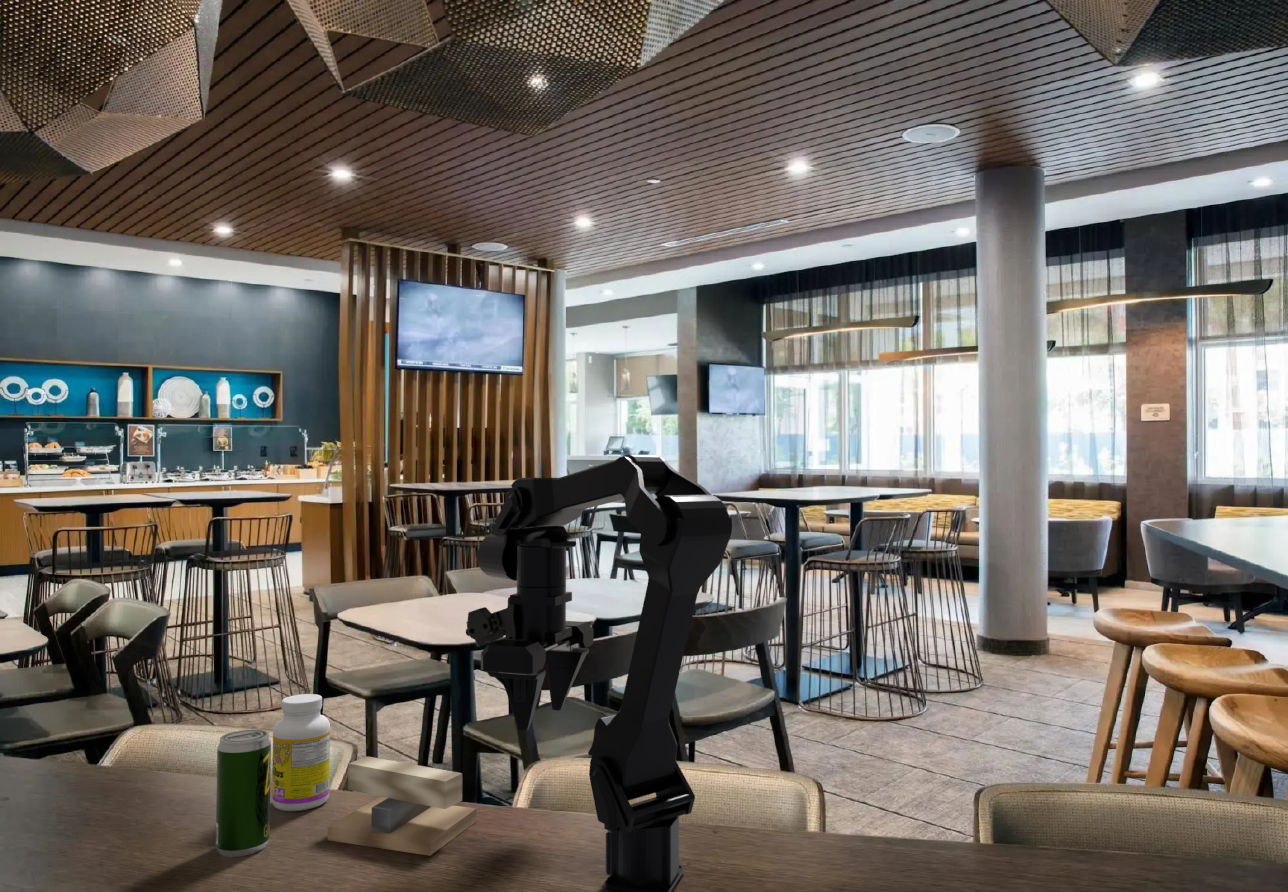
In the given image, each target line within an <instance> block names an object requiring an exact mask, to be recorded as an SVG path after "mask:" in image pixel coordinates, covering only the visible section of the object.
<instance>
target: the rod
mask: <svg viewBox="0 0 1288 892" xmlns="http://www.w3.org/2000/svg"><path fill="white" fill-rule="evenodd" d="M347 767H348V774H347V775H348V779H347V780H348V781H347V786H348V787H347V790H349V791H354V792H356V793H357V792H358V793H362V794H367V795H372V796H377V797H380V796H382V797H387V798H392V799H396V800H401V801H406V802H411V803H416V804H421V805H426V806H431V807H436V808H441V809H447V808H449V807H451V806H452V805H454V806H455V805H456V804H459V803H460V802H461V801H462V802H463V773H462V772H458V771H450V770H445V769H441V768H434V767H430V766H424V765H417V764H413V763H407V762H401V761H395V760H391V759H384V758H379V757H372V756H364V757H362V758H360V759H357V760H354V761H352V762H349V763H348V766H347Z"/></svg>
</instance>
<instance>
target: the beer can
mask: <svg viewBox="0 0 1288 892" xmlns="http://www.w3.org/2000/svg"><path fill="white" fill-rule="evenodd" d="M269 733H270V732H269V731H267V730H263V729H244V730H243V729H242V730H238V731H236V730H235V731H232V732H228V733H226V734H223V735H221V736H220V737H219V743H218V746H217V748H216V749H217V752H216V753H217V754H216V756H217V757H216V758H217V759H216V805H215V806H216V809H215V810H216V813H215V817H216V818H215V848H216V850H217V852H218V853H219V855H221V856H224V857H228V858H229V857H230V858H231V857H233V858H234V857H235V858H236V857H244V856H249V855H252V854H253V855H254V854H256V853H258V852H260V851H262V850H264V849H265V848H266V847H267V845H268V842H269V840H270V838H271V837H270V835H271V833H270V832H271V831H270V830H271V829H270V828H271V827H270V826H271V819H270V818H271V771H272V769H271V768H272V767H271V766H272V765H271V763H272V761H271V760H272V759H271V757H272V756H271V755H272V751H271V750H272V743H271V740H270V738H269V737H270V734H269Z"/></svg>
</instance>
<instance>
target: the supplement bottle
mask: <svg viewBox="0 0 1288 892" xmlns="http://www.w3.org/2000/svg"><path fill="white" fill-rule="evenodd" d="M322 707H323V697H322V696H321V695H320V694H315V693H305V694H304V693H303V694H302V693H301V694H295V695H290V696H287V697H284V698H283V699H282V700H281V711H282V714H283V718H281V719H279V720H278V721H277V722H276V723H274V724H275V725H274V726H273V729H272V765H271V766H272V767H271V768H272V769H271V771H272V772H271V773H272V774H271V776H272V778H271V787H272V788H271V803H272V806H273V807H274V808H276V809H277V810H280V811H285V812H300V811H301V812H302V811H305V810H306V811H307V810H310V809H314V808H317V807H319V806H321V805H324V804H325V802H326V801H328V799H329V797H330V770H331V769H330V764H331V763H330V762H331V761H330V760H331V759H330V756H331V755H330V754H331V753H330V751H331V750H330V748H331V746H330V745H331V744H330V743H331V724H330V720H329V719H328V718H327V717H326V716H325V715H322V714H321V709H322Z"/></svg>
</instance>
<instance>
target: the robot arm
mask: <svg viewBox="0 0 1288 892" xmlns="http://www.w3.org/2000/svg"><path fill="white" fill-rule="evenodd" d="M653 494H654V495H655V496H656V498H654V497H653V496H652V495H653ZM622 500H624V505H625V506H624V507H625V508H624V509H625V516H626V519H628V521H629V522H630V523H631V524H632V526H633V527H634V528H635V529H636V530H637V531H638V532H639V533H640V537H639V548H638V552H639V555H640V557H641V559H642V563H643V566H644V569H645V571H646V573H647V574H646V575H647V577H648V580H647V586H646V590H645V595H644V600H643V604H642V609H641V613H640V617H639V622H638V627H637V630H636V636H635V640H634V646H633V649H632V654H631V655H632V656H631V658H630V659H631V660H630V663H629V668H628V673H627V677H626V682H625V686H624V690H623V691H624V692H623V696H622V700H621V706H620V709H618V711H617V713H616V714H614V715H609V716H605V717H600V718H597V721H596V723H595V725H594V731H593V738H592V739H593V740H592V743H591V746H590V748H589V750H588V752H587V754H588V755H589V756H591V759H590V761H589V770H588V771H589V773H588V774H589V781H590V787H591V791H592V796H593V802H594V807H595V811H596V812H595V813H596V818H597V821H598V822H599V823H601V824H603V825H604V826H603V827H604V830H607V832H605V873H606V875H607V876H608V877H607V878H606V880H604V883H603V887H604V889H606V890H611V891H619V892H672V890H673V889H674V888H675V886H676V885H677V883H678V882H679V880H680V879H681V877H682V875H683V874H684V873H685V867H684V865H682V864H680V857H679V856H680V831H679V830H680V826H679V825H680V817H681V816H684V815H685V816H687V815H690V814H691V813H692V810H693V807H694V803H695V800H696V797H695V796H696V795H695V793H694V791H693V790H692V788H691V786H690V784H689V782H688V780H687V778H686V777H685V774H684V773H683V771H682V769H681V767H680V766H679V763H678V762H677V753H678V751H677V750H678V742H677V740H676V737H675V734H674V731H673V729H672V726H671V723H670V715H671V710H672V706H673V702H674V697H675V693H676V689H677V685H678V681H679V677H680V672H681V668H682V663H683V659H684V654H685V650H686V646H687V642H688V638H689V632H690V628H691V625H692V619H693V616H694V611H695V608H696V603H697V599H698V594H699V591H700V589H701V587H703V585H704V584H705V583H706V582H707V580H708V579H709V578H710V577H711V576H712V574H713V573H714V572H715V571H716V569H717V568H718V567H719V566H720V564H721V563H722V560H723V557H724V555H725V552H726V550H727V546H728V545H729V542H730V539H731V536H732V531H733V520H732V519H733V518H732V516H730V515H729V513H728V509H727V507H726V505H725V504H724V502H723V501H722V500H721V499H720V498H718V497H717V496H715V495H712V494H711V493H710V492H709V491H708V490H707V489H706V488H705V487H704V486H703V485H701V484H699V483H697V482H696V481H695V480H693V479H691V478H689V477H687V476H686V475H684V474H682V473H680V472H679V471H678V470H676V469H675V468H673V467H672V466H671V465H670V464H669V462H668V461H667V460H666V459H664V458H662V457H660V456H658V455H655V454H624V455H622V456H619V457H618V458H617V459H615V460H612V461H608V462H606V463H603V464H598V465H596V466H593V467H589V468H586V469H583V470H580V471H577V472H574V473H569V474H567V475H564V476H561V477H518V478H516V479H515V480H514V481H513V482H512V484H511V488H510V489H509V491H508V492H507V494H506V496H505V500H504V501H503V504H502V506H501V510H500V511H499V512H498V514H497V516H496V518H495V519H494V522H493V523H492V524H491V533H489V534H487V535H486V536H485V537H484V538H483V539H482V541H481V543H480V545H479V547H478V549H477V551H476V561H477V564H478V566H479V567H478V568H479V569H480V570H481V572H483V574H484V575H486V576H489V577H492V578H497V579H503V580H508V581H509V580H510V581H516V592H515V593H513V594H510V595H509V597H508V599H507V607H506V608H503V609H501V610H497V611H493V612H491V611H490V610H489V609H488V608H487V607H486V606H485V607H481V608H477V609H474V610H471V611H469V612H468V613H467V621H466V629H465V634H466V636H467V637H470V638H471V639H473V640H474V642H475V645H476V647H477V648H479V647H481V646H484V645H485V644H486V643H488V645H487V646H486V647H484V649H483V650H482V651H481V652H480V670H481V671H483V672H487V674H488V676H489V677H490V678H495V680H497V681H498V682H500V683H501V685H503V687H504V690H505V692H506V696H507V698H508V701H509V704H510V707H511V711H512V714H513V717H514V720H515V724H516V727H517V729H518V731H520V732H521V731H522V732H526V731H528V730H529V729H530V726H531V723H532V721H533V718H534V715H535V714H534V713H535V710H536V708H537V707H536V706H537V703H538V701H539V698H540V697H539V696H540V694H541V690H542V687H543V683H544V681H545V680H544V679H545V677H546V673H547V678H548V679H547V680H548V686H549V687H548V688H549V689H548V690H549V696H550V697H549V698H550V703H551V709H552V710H553V711H561V710H563V707H564V705H565V703H566V700H567V698H568V696H569V693H570V690H571V688H572V686H573V685H574V682H575V680H576V677H577V676H578V673H579V671H580V669H581V667H582V664H583V663H584V660H585V658H586V656H587V654H589V652H590V649H589V647H591V646H593V645H594V628H592V626H591V625H590V624H589V623H588V622H587V621H578V620H577V621H576V620H575V621H574V620H567V611H566V610H567V603H569V602H572V600H573V591H567V548H574V547H576V546H577V541H576V539H574V537H573V536H572V535H571V534H569V533H568V531H567V529H566V528H565V527H566V525H569V524H570V523H572V522H574V521H575V520H577V519H579V518H581V516H582V513H583V512H584V511H585V510H588V509H591V508H595V507H599V506H602V505H606V504H611V503H615V502H618V501H622ZM504 637H505V639H503V638H504ZM500 639H501V640H500ZM494 641H495V642H494ZM491 642H492V643H491ZM489 643H490V644H489ZM579 646H580V647H579ZM545 663H546V667H547V668H546V669H547V670H546V669H545V670H544V667H545ZM653 794H655V797H651V798H648V799H644V800H641V801H638V802H635V803H632V804H630V801H632V800H635V799H639V798H642V797H645V796H649V795H653Z"/></svg>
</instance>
